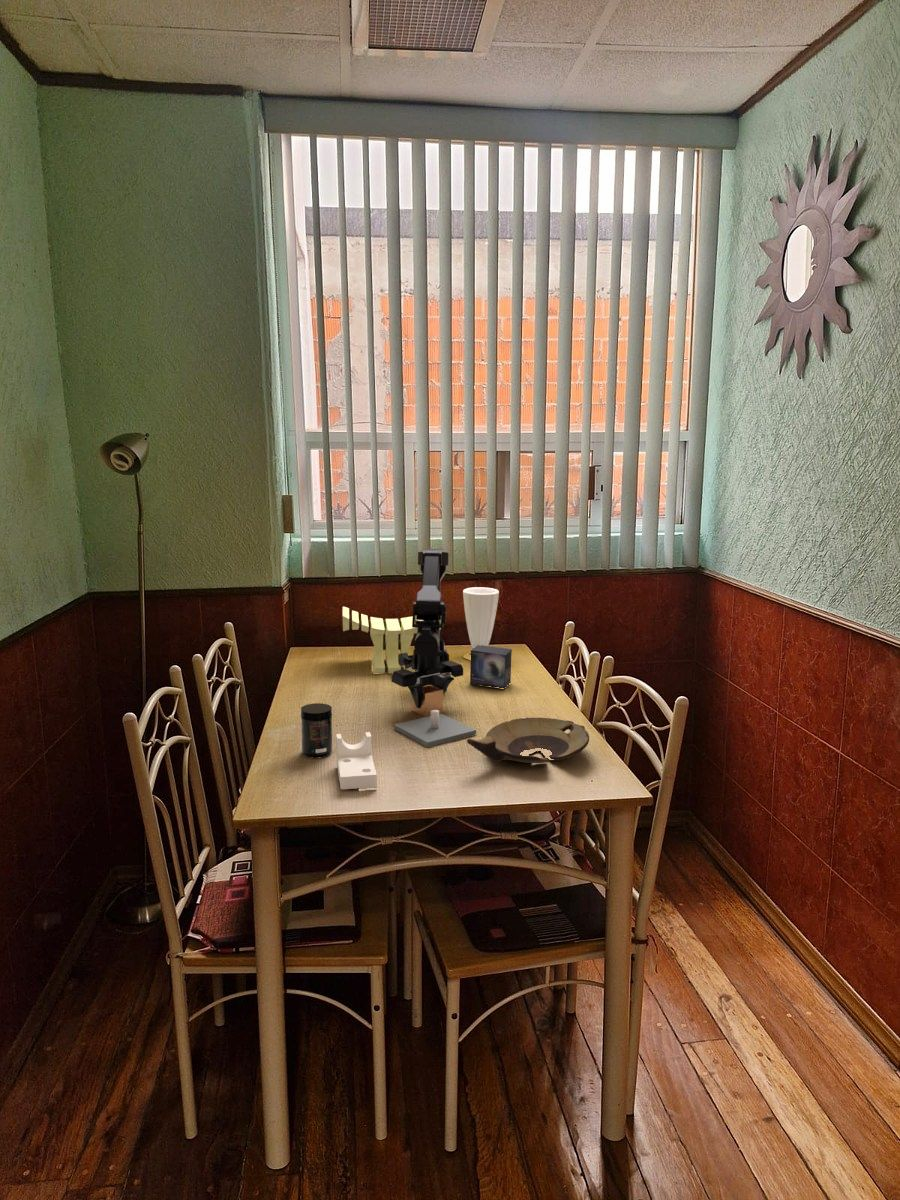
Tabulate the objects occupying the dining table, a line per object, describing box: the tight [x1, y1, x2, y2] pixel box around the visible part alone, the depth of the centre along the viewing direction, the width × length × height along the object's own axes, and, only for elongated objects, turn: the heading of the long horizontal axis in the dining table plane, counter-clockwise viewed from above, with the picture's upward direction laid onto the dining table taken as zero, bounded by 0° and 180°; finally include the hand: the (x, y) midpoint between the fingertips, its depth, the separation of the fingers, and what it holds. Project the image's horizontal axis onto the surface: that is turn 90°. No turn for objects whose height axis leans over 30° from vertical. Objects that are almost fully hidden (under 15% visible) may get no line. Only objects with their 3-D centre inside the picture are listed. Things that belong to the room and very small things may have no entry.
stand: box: [393, 710, 477, 748], centre depth 192 cm, size 14×14×5 cm
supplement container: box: [300, 702, 333, 759], centre depth 178 cm, size 7×7×10 cm
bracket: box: [335, 731, 378, 790], centre depth 165 cm, size 13×7×8 cm, turn 11°
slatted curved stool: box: [342, 606, 442, 674], centre depth 245 cm, size 30×16×18 cm, turn 97°
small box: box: [469, 645, 513, 688], centre depth 229 cm, size 11×6×10 cm, turn 68°
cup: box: [462, 586, 500, 655], centre depth 257 cm, size 12×12×22 cm
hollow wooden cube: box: [411, 684, 444, 718], centre depth 206 cm, size 6×6×6 cm
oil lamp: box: [466, 717, 590, 764], centre depth 178 cm, size 22×30×8 cm
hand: (427, 705), depth 207 cm, fingers closed on hollow wooden cube, 6 cm apart
